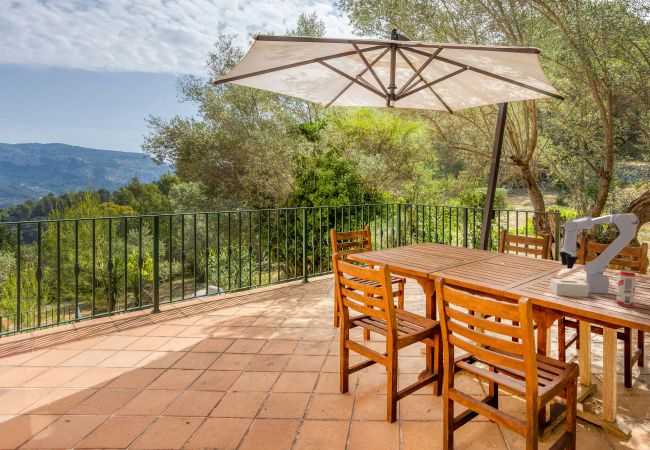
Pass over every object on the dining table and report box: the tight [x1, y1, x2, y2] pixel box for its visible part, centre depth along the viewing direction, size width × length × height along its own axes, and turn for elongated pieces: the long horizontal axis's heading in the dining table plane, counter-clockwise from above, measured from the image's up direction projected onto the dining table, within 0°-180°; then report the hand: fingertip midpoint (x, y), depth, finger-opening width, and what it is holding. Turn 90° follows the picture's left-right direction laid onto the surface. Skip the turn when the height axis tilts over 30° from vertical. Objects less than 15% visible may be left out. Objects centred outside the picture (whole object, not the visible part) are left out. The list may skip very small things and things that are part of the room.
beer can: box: [615, 269, 637, 308], centre depth 178 cm, size 6×6×16 cm
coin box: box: [549, 278, 589, 298], centre depth 198 cm, size 14×10×6 cm
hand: (566, 266), depth 213 cm, fingers open, 7 cm apart
